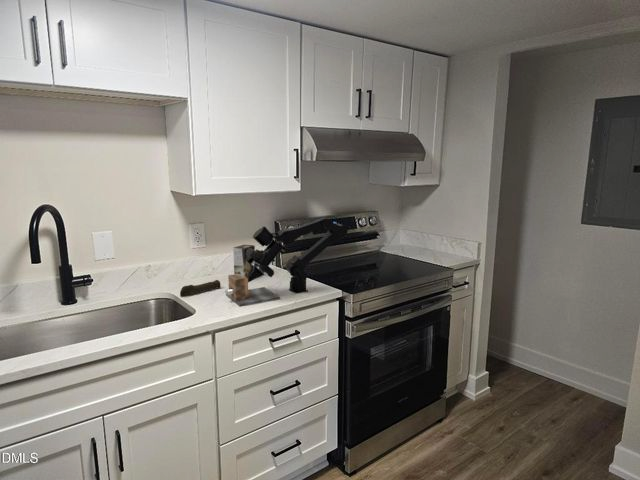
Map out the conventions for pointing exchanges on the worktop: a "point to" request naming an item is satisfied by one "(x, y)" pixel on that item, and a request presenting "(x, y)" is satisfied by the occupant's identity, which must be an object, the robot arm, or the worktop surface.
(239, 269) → the coffee box
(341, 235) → the robot arm
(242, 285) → the wooden block on baseplate
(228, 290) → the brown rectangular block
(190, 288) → the dark brown rounded bar
